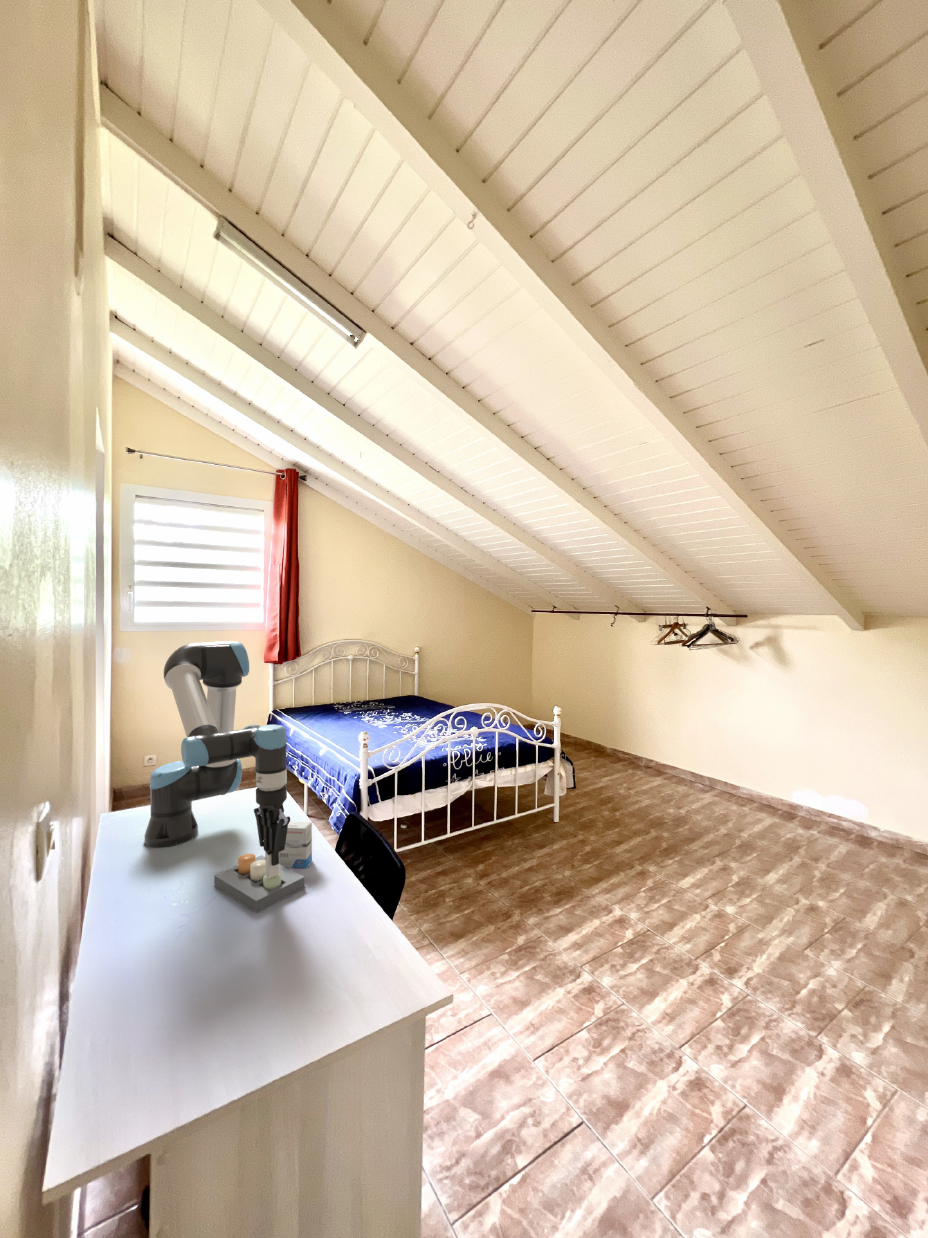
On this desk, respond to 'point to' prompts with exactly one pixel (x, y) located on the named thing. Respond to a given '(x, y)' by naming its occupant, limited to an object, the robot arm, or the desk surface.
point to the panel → (258, 887)
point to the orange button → (245, 863)
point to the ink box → (297, 846)
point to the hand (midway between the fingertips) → (272, 875)
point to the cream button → (257, 870)
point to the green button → (271, 882)
